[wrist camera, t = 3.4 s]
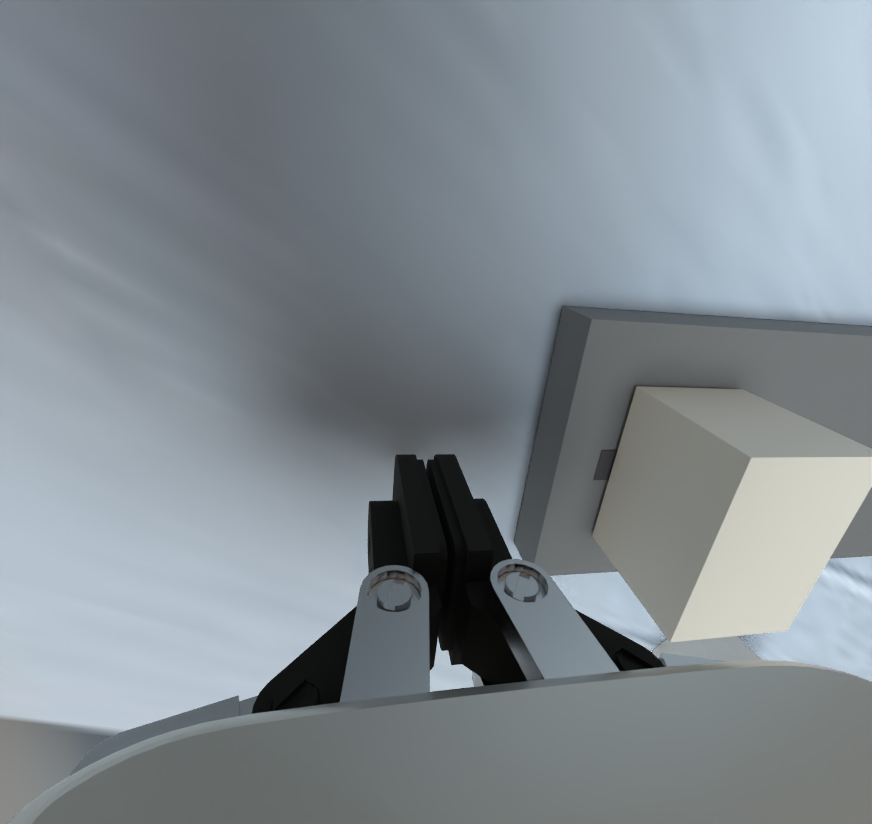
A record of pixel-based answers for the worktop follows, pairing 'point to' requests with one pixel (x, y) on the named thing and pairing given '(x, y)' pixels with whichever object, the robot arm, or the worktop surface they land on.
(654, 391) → the fader knob
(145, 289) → the worktop surface
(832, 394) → the fader track
